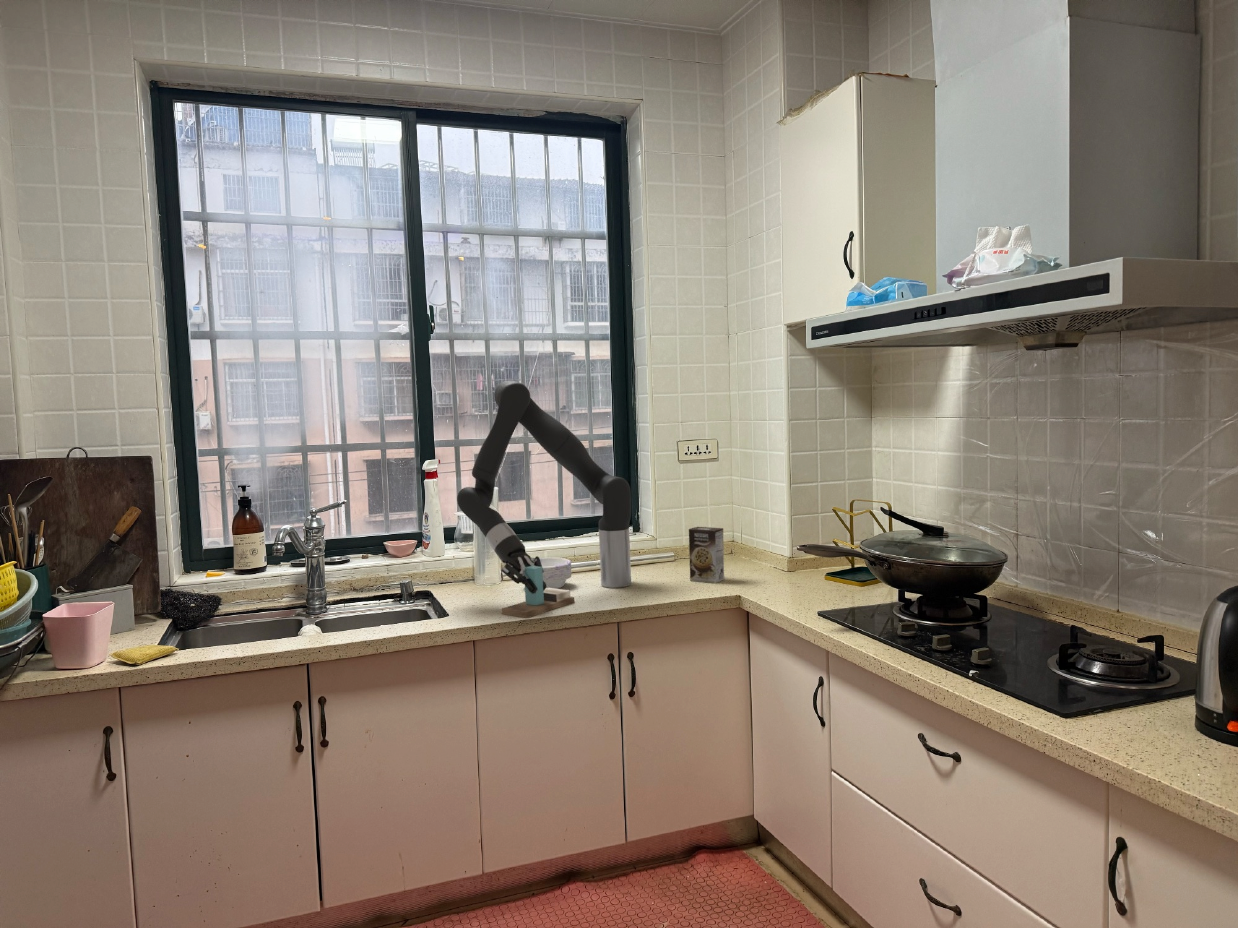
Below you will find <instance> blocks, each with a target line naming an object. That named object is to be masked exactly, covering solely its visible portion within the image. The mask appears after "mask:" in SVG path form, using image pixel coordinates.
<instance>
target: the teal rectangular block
mask: <svg viewBox="0 0 1238 928" xmlns="http://www.w3.org/2000/svg"><path fill="white" fill-rule="evenodd" d="M525 569H526V573H527V574H528V576H529V579H531V580H532V581H533V583H534V584H535V585H536V587H537V588H538V590H537V591H536V592H535V593H534V594H532V593H531V592H530V591H529V590H528V589H527V587H526V586H525V585H524V595H525V596H524V597H525V601H526V604H530V605H540V604H543V603H544V592H543V571H542V567H538V566H529V567H526V568H525Z"/></svg>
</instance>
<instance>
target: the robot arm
mask: <svg viewBox="0 0 1238 928" xmlns="http://www.w3.org/2000/svg"><path fill="white" fill-rule="evenodd" d="M493 397H494V402H495V403H496V405H497V410H496V411H497V412H496V416H495V420H494V422H493V425H492V427H491V429H490V431H489V432H488V435H487V436H486V438H485V440H484V441H483V443H482V445H481V447H480V449H479V451H478V453H477V457H476V459H475V460H474V461H475V462H474V465H473V467H472V471H471V476H472V477H473V478H474V479H475V484H474V487H473V486H466V487H465V486H464V487H463V488H461V489H460V490H459V492H458V493H457V495H456V496H457V497H456V502H457V503H456V504H457V506H458V507H459V509H460V511H461V512H462V513H463V514H464V515H465V516H466V517H467V518H468V519H469V520H470V521H471V522H472V523H473V524H474V525H476V526H477V527H478V529H479V530H480V532H481V533H482V535H484V537H485V539H486V540H487V542H488V545H489V546H490V547H491V549H492V551H494V552H495V554H496V556H497V557H498V558H499V560H500V561H501V562H502V563H503V564H504V565H503V567H502V568H501V572H502V574H504V575H505V576H507V577H508V578H509V579H511V580H512V581H513V582H514V583H516V584H520V583H521V584H522V585H524V587H525V586H526V587H527V589H528V590H529V591H530V592H531V593H532V594H534V593H535V592H536V591H537V590H538V588H537V587H536V585H535V584H534V583H533V581H532V580H531V579H529V576H528V574H527V573H526V569H525V568H526V567H529V566H538V567H542V565H541V561H540V558H541V557H539V556H538V555H537V556H535V557H531V556H530V555H529V553H527V552H526V546H525V545H524V544H523V541H521V539H520V537H519V536H518V535H517V534H516V533H515V531H514V530H513V528H512V527H511V526H509V525H508V523H507V522H506V520H505V519H504V518H503V516H502V515H501V513H499V512H498V511H497V510H496V509H494V508H491V507H490V506H491V504H492V502H493V499H494V493H495V486H496V485H495V484H496V479H497V478H496V477H497V475H498V473H499V470H500V467H501V465H502V462H503V459H504V456H505V454H506V451H507V448H508V446H509V444H510V441H511V439H512V437H513V435H514V432H515V430H516V429H517V426H518V424H520V425H522V427H524V428H525V430H527V432H528V433H529V434H530V435H531V436H532V437H533V438H534V440H535V441H536V443H538V444H539V445H540V446H541V447H542V448H543V450H544V451H546V452H547V454H549V455H550V456H551V457H552V458H553V459H554V460H555V461H556V462H557V463H558V464H560V465H561V466H562V467H563V468H564V469H565V470H566V471H567V472H569V473H570V474H571V475H572V476H574V477H575V478H576V479H577V480H579V482H580V483H582V485H583V486H584V487H585V489H587V491H588V492H589V493H590V495H592V497H593V498H594V499H595V500H596V501H597V502H598V503H599V504H601V505H602V516H601V518H600V519H599V520H598V539H599V540H598V542H599V564H600V566H599V567H600V586H602V587H605V588H610V589H611V588H614V589H615V588H624V587H628V586H631V585H632V569H631V566H632V565H631V564H632V563H631V542H630V541H631V540H630V521H631V517H632V492H631V487H630V484H629V483H628V481H627V480H626V479H625V478H623V477H620V476H614V475H611V474H609V472H606V471H605V470H604V469H603V468H601V466H599V465H598V464H597V463H596V462H595V461H594V459H593V458H592V457H591V455H590V454H589V451H588V450H587V448H586V446H585V445H584V444H583V442H582V441H581V440H580V439H579V438H578V437H577V436H576V435H575V434H574V433H573V432H572V431H571V430H570V429H569V428H567V427H566V426H565V425H564V424H563V423H561V422H560V421H559V420H557V419H556V418H554V417H553V416H552V415H550V414H549V413H547V412H546V411H544V410H543V409H542V408H541V407H540V406H539V405H538V404H537V403H536V402H535V401H534V400H533V398H532V397H531V392H530V390H529V388H528V387H527V386H526V385H525V384H523V383H521V382H519V381H517V380H504V381H502V382H499V383H498V385H497V386H496V387H495V390H494V396H493ZM542 571H543V568H542ZM543 572H544V571H543ZM546 587H547V586H546V583H545V582H544V581H543V591H544V590H545V589H546Z"/></svg>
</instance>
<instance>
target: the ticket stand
mask: <svg viewBox="0 0 1238 928" xmlns="http://www.w3.org/2000/svg"><path fill="white" fill-rule="evenodd" d="M543 592H544V603H543V604H540V605H530V604H526V600H525V601H521V602H517V603H516V604H512V605H509V606H506V607H502V608H501V613H502V615H505V616H512V617H518V616H519V618H525V619H528V618H531V617H534V616H536V615H541V614H543V613H546V612H550V611H553V610H555V608H556V609H558V608H560V607H564V606H568V605H569V604H570V603H571V604H574V603H575V596H571V590H569V589H561V588H558V589H555V588H546V589H545V590H544V591H543ZM530 616H531V617H530Z"/></svg>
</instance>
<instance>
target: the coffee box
mask: <svg viewBox="0 0 1238 928" xmlns="http://www.w3.org/2000/svg"><path fill="white" fill-rule="evenodd" d="M688 547H689V548H688V549H689V551H688V552H689V557H688V558H689V581H690V582H700V583H709V584H717V583H719V582H722V581H724V580H725V558H724V556H725V555H724V554H725V551H724V528H723V527H708V526H694V527H692V528H689V529H688Z"/></svg>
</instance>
